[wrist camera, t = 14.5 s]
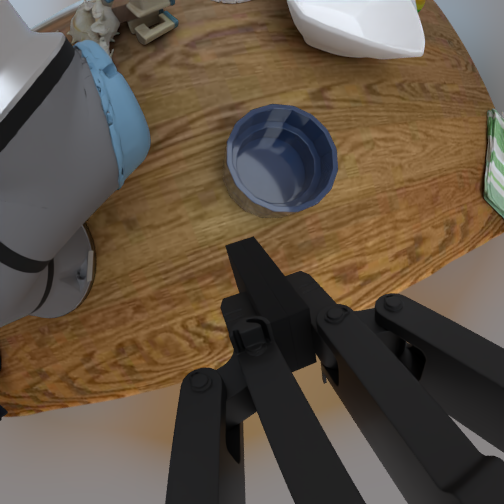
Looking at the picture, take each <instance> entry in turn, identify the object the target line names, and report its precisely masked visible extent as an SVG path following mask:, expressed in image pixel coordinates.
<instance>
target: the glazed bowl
mask: <svg viewBox="0 0 504 504" xmlns="http://www.w3.org/2000/svg"><path fill="white" fill-rule="evenodd" d="M337 171H338V162H337V150H336V147H335V145H334V142H333V140H332V138H331V136H330V134H329V132H328V131H327V129H326V128H325V127H324V126H323V125H322V124H321V123H320V122H319V121H318V120H317V119H316V118H315V117H314V116H313V115H312V114H309V113H307V112H305V111H303V110H301V109H299V108H297V107H295V106H290V105H279V104H270V105H266V106H263V107H260V108H256V109H253V110H251V111H250V112H249V113H247V114H246V115H245V116H244V117H242V118H241V119H240V120H239V121H238V122H236V124H235V126H234V128H233V130H232V132H231V134H230V136H229V138H228V141H227V144H226V149H225V154H224V159H223V181H224V183H225V186H226V188H227V191H228V193H229V195H230V197H231V198H232V199H233V200H234V201H235V202H236V203H237V204H238V205H239V206H240V207H241V208H242V209H243V210H244V211H247V212H249V213H251V214H254V215H256V216H258V217H261V218H282V217H285V216H288V215H291V214H294V213H297V212H299V211H302V210H304V209H306V208H309V207H311V206H314V205H316V204H318V203H319V202H320V201H321V200H322V199H323V197H324V196H325V195H326V194H327V193H328V192H329V191H330V190H331V189H332V186H333V183H334V180H335V177H336V174H337Z"/></svg>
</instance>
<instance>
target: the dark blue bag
mask: <svg viewBox="0 0 504 504" xmlns="http://www.w3.org/2000/svg"><path fill="white" fill-rule="evenodd" d="M0 369H1V358H0ZM7 413H8V412H7V411H6V410H5V409H4V408H3V407H2V406H1V405H0V421H1V417H3V416H4V415H6V414H7Z"/></svg>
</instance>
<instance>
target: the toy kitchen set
mask: <svg viewBox="0 0 504 504" xmlns="http://www.w3.org/2000/svg"><path fill="white" fill-rule="evenodd" d="M129 1H130V2H129V3H128V4H127V5H126V7H127V8H128V9H129V10H130V11H131V12H132V13H133V14H134V15H136V16H137V17H138V18H137V19H133V20H130V21H127V23H128V26H129V29H130V31H131V33H132V34H135V33H136V36H137V38H138V41H139V42H140V43H141V44H143V45H146V44H148V43H149V42H151V41H153V40H154V39H156V38H158V37H159V36H161V35H163V34H165V33H167V32H168V31H170V30H172V29H174V28H176V27H177V26H178V20H177V19H176V18H175V17H173V16H172V15H171V14H170V13H169V12H168V11H163V8H165V7H167V6H170V5H174V4H175V0H129ZM101 2H102V4H103V6H107V7H112V4H113V2H114V0H101ZM159 22H160V23H159ZM157 23H159V24H158V25H156V26H155V27H153V28H151V29H149V28H148V27H150V26H152V25H155V24H157Z"/></svg>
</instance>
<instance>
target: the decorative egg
mask: <svg viewBox="0 0 504 504" xmlns="http://www.w3.org/2000/svg"><path fill="white" fill-rule="evenodd" d="M415 2H416V7H417V12H419V11H420V10H421V9H422V7H423V6H424V3H425V0H415Z"/></svg>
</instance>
